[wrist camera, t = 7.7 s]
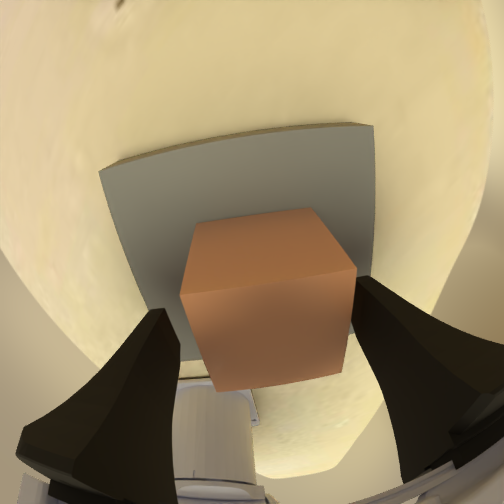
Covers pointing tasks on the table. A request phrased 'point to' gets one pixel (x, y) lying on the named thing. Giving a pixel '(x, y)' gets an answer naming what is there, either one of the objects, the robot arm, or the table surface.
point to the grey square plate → (238, 199)
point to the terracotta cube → (268, 299)
